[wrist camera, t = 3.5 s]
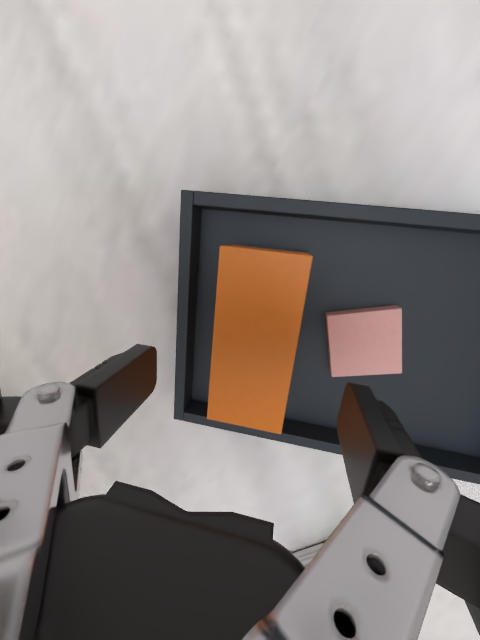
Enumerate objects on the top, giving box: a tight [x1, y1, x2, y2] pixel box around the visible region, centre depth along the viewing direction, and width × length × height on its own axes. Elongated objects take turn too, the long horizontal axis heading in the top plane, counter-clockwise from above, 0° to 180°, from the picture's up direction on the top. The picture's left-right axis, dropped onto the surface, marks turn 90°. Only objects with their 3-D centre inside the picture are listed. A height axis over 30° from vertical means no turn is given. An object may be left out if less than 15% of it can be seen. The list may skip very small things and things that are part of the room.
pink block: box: [325, 305, 402, 377], centre depth 18 cm, size 4×4×1 cm
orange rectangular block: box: [207, 243, 313, 434], centre depth 17 cm, size 5×11×5 cm, turn 174°
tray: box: [174, 190, 480, 484], centre depth 18 cm, size 24×17×2 cm
